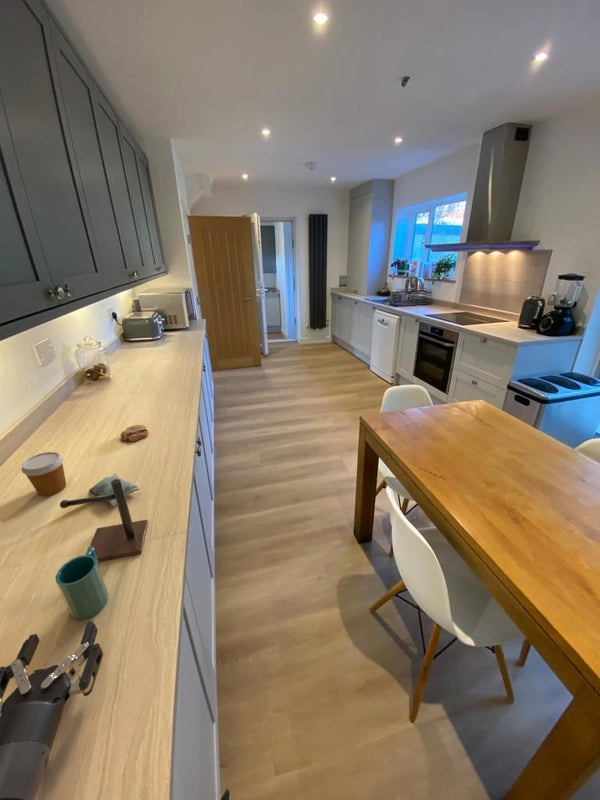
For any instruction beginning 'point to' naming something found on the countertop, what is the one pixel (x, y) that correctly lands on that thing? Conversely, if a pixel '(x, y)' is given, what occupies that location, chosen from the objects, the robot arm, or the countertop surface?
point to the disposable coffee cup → (45, 473)
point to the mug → (83, 585)
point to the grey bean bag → (106, 488)
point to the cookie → (134, 433)
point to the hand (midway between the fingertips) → (63, 630)
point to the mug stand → (115, 528)
